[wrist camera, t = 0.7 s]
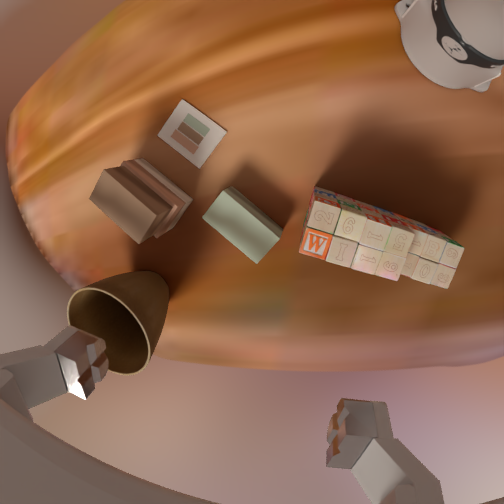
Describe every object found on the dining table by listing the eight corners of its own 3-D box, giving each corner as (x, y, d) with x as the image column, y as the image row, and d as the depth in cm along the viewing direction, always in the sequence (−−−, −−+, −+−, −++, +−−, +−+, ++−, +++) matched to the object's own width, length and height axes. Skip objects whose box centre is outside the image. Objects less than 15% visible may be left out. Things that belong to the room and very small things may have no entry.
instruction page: (182, 99, 42) (181, 99, 42) (227, 132, 43) (226, 131, 43) (157, 135, 45) (156, 135, 45) (199, 168, 46) (199, 168, 45)
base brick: (143, 158, 47) (123, 161, 41) (193, 199, 48) (177, 207, 42) (126, 187, 49) (105, 193, 43) (173, 227, 50) (156, 238, 44)
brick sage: (232, 185, 46) (223, 190, 41) (283, 229, 47) (279, 238, 42) (212, 210, 48) (201, 217, 43) (262, 252, 49) (256, 263, 44)
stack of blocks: (441, 229, 42) (475, 256, 30) (426, 265, 44) (455, 301, 33) (313, 185, 44) (314, 199, 32) (301, 225, 46) (297, 253, 35)
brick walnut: (123, 165, 41) (103, 169, 37) (173, 207, 42) (156, 215, 37) (109, 192, 43) (89, 198, 39) (155, 233, 44) (138, 244, 39)
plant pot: (174, 336, 57) (137, 390, 43) (112, 297, 57) (63, 339, 43) (202, 277, 52) (162, 328, 37) (130, 234, 52) (72, 268, 37)
